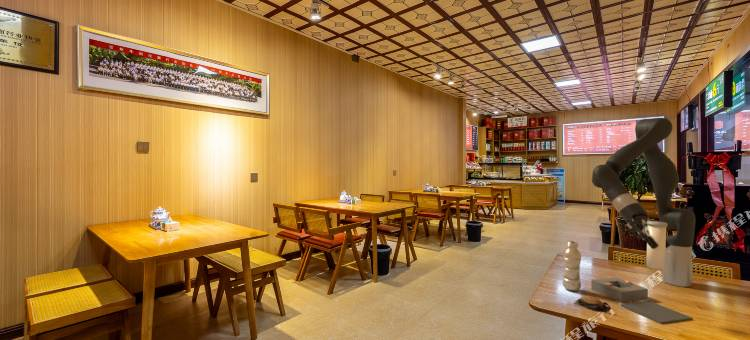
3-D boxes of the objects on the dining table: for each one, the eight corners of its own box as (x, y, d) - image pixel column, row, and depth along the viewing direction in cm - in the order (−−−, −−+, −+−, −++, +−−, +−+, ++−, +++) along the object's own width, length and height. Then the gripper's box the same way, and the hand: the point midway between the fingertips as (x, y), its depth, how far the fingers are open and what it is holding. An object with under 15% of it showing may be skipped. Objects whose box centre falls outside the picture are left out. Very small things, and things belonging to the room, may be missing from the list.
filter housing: (616, 286, 141) (616, 275, 141) (647, 299, 129) (648, 286, 129) (591, 289, 138) (591, 278, 138) (621, 302, 126) (621, 289, 126)
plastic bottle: (583, 293, 134) (584, 244, 133) (565, 292, 135) (566, 243, 135) (577, 287, 140) (578, 240, 140) (560, 286, 142) (561, 240, 141)
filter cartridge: (653, 264, 120) (654, 220, 120) (670, 269, 115) (671, 223, 114) (641, 265, 119) (642, 221, 119) (657, 270, 114) (659, 224, 113)
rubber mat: (649, 302, 126) (649, 300, 126) (692, 319, 112) (692, 317, 112) (620, 305, 122) (620, 304, 122) (660, 323, 109) (660, 322, 109)
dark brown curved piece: (571, 306, 124) (572, 296, 124) (579, 299, 129) (579, 290, 129) (605, 315, 116) (605, 305, 116) (612, 308, 121) (612, 298, 121)
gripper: (620, 202, 122) (654, 242, 111) (650, 201, 125) (686, 240, 114) (607, 214, 127) (638, 253, 116) (636, 213, 131) (669, 251, 119)
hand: (661, 247), depth 115 cm, fingers closed on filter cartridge, 5 cm apart
